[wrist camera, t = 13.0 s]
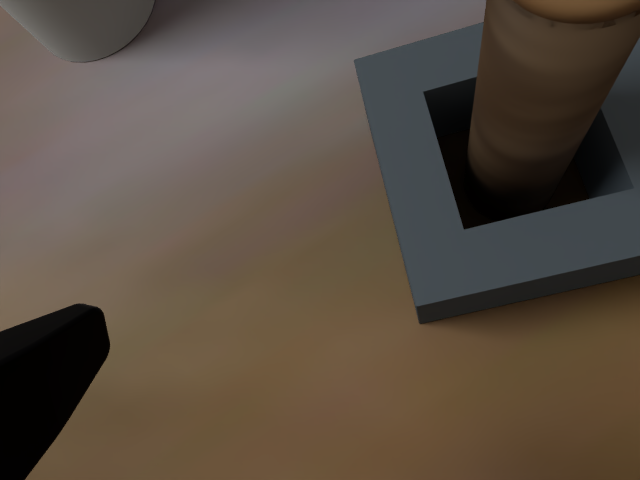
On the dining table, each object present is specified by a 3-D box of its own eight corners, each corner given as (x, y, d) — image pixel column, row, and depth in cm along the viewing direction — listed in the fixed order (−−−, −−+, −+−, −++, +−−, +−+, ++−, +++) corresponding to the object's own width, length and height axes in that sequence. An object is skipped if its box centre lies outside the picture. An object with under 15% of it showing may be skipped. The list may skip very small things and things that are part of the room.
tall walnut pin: (573, 187, 22) (739, -77, 10) (502, 239, 22) (584, 36, 10) (513, 126, 24) (596, -173, 11) (446, 176, 24) (458, -71, 11)
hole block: (680, 265, 21) (734, 234, 17) (419, 324, 22) (416, 306, 18) (588, 49, 24) (616, -17, 20) (366, 111, 25) (353, 59, 22)
